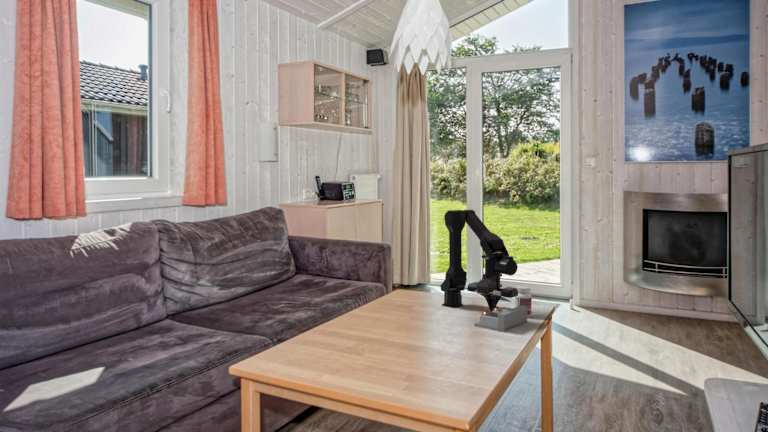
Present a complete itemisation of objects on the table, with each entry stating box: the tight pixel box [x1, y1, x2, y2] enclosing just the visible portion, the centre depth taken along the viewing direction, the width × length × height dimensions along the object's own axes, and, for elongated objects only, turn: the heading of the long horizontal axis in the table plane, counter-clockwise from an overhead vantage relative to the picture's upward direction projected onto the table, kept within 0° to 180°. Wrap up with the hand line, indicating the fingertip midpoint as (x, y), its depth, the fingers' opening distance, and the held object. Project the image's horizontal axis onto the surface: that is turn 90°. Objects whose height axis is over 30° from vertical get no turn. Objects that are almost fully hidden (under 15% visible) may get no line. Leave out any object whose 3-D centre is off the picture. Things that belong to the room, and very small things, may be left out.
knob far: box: [493, 305, 509, 312], centre depth 208 cm, size 8×5×4 cm, turn 49°
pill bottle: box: [514, 285, 533, 318], centre depth 216 cm, size 6×6×11 cm
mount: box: [473, 305, 528, 333], centre depth 204 cm, size 12×17×6 cm
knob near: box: [481, 309, 498, 318], centre depth 202 cm, size 8×5×4 cm, turn 49°
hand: (491, 312), depth 211 cm, fingers closed
